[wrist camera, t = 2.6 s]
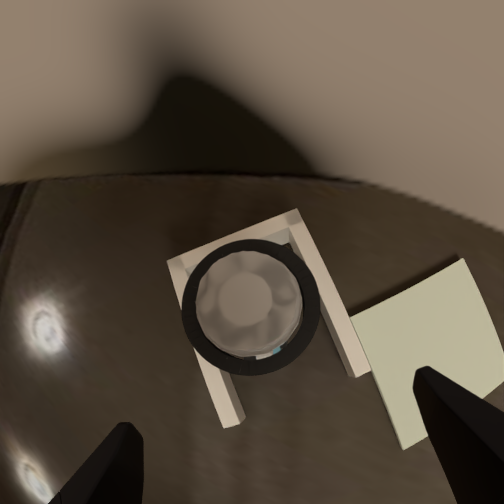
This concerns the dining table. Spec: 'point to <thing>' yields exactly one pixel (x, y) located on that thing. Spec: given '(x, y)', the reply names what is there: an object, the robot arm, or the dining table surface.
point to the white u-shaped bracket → (332, 308)
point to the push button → (250, 306)
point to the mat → (430, 344)
